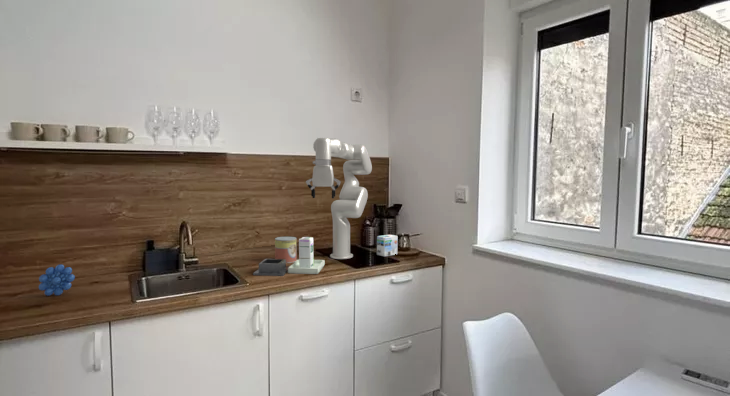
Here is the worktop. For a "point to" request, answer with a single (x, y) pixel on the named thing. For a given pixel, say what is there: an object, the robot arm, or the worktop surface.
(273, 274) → the sleeve holder
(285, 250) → the canned food
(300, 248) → the syrup box
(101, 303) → the worktop surface
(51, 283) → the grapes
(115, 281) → the worktop surface
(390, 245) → the light bulb box
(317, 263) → the tray
